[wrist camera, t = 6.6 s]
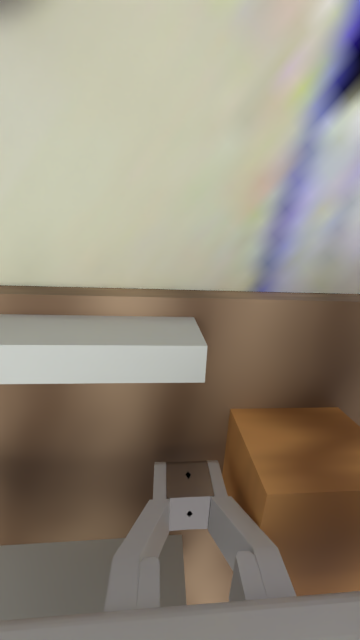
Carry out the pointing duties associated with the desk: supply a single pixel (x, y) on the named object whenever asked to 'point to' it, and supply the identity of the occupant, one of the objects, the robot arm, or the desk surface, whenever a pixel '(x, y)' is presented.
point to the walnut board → (162, 411)
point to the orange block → (300, 490)
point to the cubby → (78, 368)
